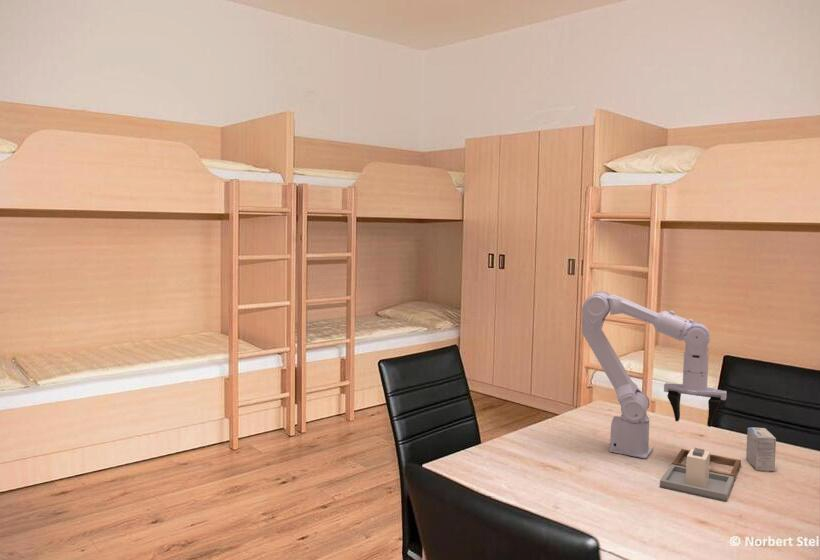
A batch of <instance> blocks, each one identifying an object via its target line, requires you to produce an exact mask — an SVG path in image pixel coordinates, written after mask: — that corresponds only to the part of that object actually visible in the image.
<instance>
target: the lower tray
mask: <svg viewBox="0 0 820 560" xmlns="http://www.w3.org/2000/svg"><path fill="white" fill-rule="evenodd" d="M734 484H735V482H734V477H733V476H728V475H723V474H718V473H713V472H709V481H708V483H707V485H706V487H705V488H701V487H696V486H692V485H687V484H686V467H683V466H678V465H673V464H672V463H670V465H669V466H668V468H667V469H666V471H665V472H664V474H663V475H662V477H661V478H660V480H659V488H661V489H668V490H672V491H677V492H681V493H686V494H689V495H694V496H698V497H704V498H709V499H712V500H716V501H717V500H718V501H720V502H727V501H728V499H729V496H730V494H731V492H732V488H733V486H734Z"/></svg>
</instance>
